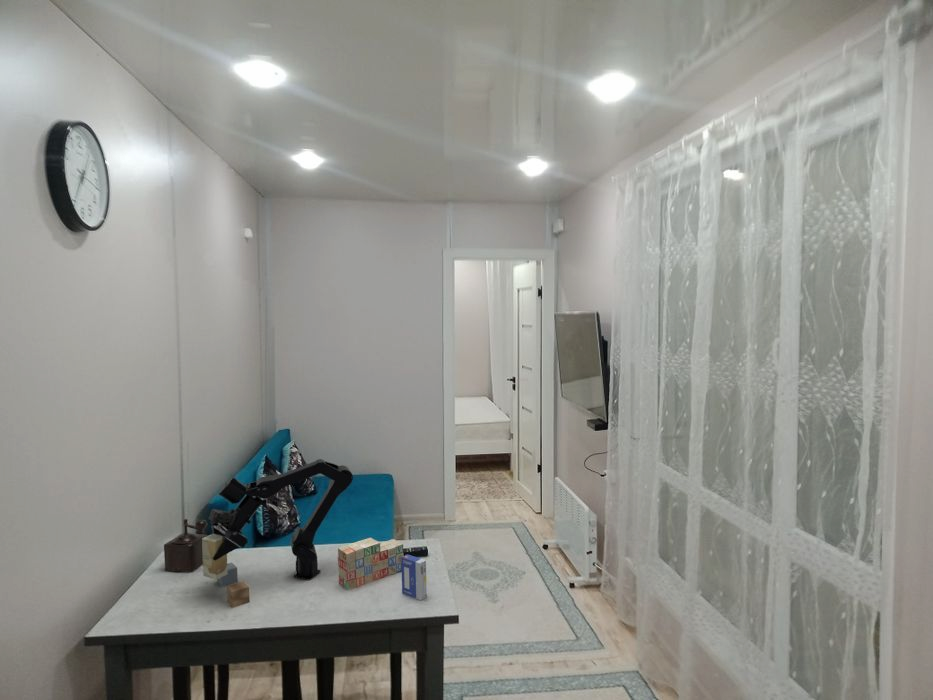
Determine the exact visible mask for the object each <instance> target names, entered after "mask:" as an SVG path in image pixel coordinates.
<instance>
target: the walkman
mask: <svg viewBox="0 0 933 700" xmlns="http://www.w3.org/2000/svg"><path fill="white" fill-rule="evenodd" d="M401 562H402V571H401V593H402V594H404V595H405V596H409V597H411V598H413V599H415V600H416V599H417V600H419V601H422V600H423V599H426V598H427V597H428V596H427V595H428V593H427V592H428V591H427V590H428V589H427V560H426V559H423V558H420V557H417V556H413V555H410V554H408V553H407V554H405V555H404V556H403V557H401Z"/></svg>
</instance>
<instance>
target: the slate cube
mask: <svg viewBox="0 0 933 700" xmlns="http://www.w3.org/2000/svg"><path fill="white" fill-rule="evenodd" d="M238 580H239V579H238V566H236V565H235V564H234V563H233V562H232V561H231V562H229V563H228V562H227V575H225V576H223V577H221V578H219V579H217V580H216V582H217V584H219V586H220V587H221V588H223V587H227V586H228V585H231V584H235V583H238V582H239V581H238Z"/></svg>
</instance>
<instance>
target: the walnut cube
mask: <svg viewBox="0 0 933 700" xmlns="http://www.w3.org/2000/svg"><path fill="white" fill-rule="evenodd" d="M226 599H227V601H226V602H227V603H228V604H229V605H230V606H231V608H233V609H234V608H237V607H240V606H243V605H246V604H248V603H250V586H249V585H248V584H247V583H246V582H245V581H244V580H242V581H238V582H236V583H233V584H230V585H226Z"/></svg>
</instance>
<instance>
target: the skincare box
mask: <svg viewBox="0 0 933 700" xmlns="http://www.w3.org/2000/svg"><path fill="white" fill-rule="evenodd" d="M224 537H225V536H224ZM221 544H222V536H221V535H216V534H209V535H207V536H206V537H204V538H202V552H203V565H202V572H203V573H202V574H203V575H202V576H203V577H204V578H205V577H206V578H209V579H212V580H216V581H217V579H219V578H221V577H223V576H225V575H227V564H228V553H227V554H226V555H224V556H222V557H221V558H219V559H217V560H216V561H215V560H213V557H214V555H215V553H216V552H217V550H218V548H219V547H220V545H221Z"/></svg>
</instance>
